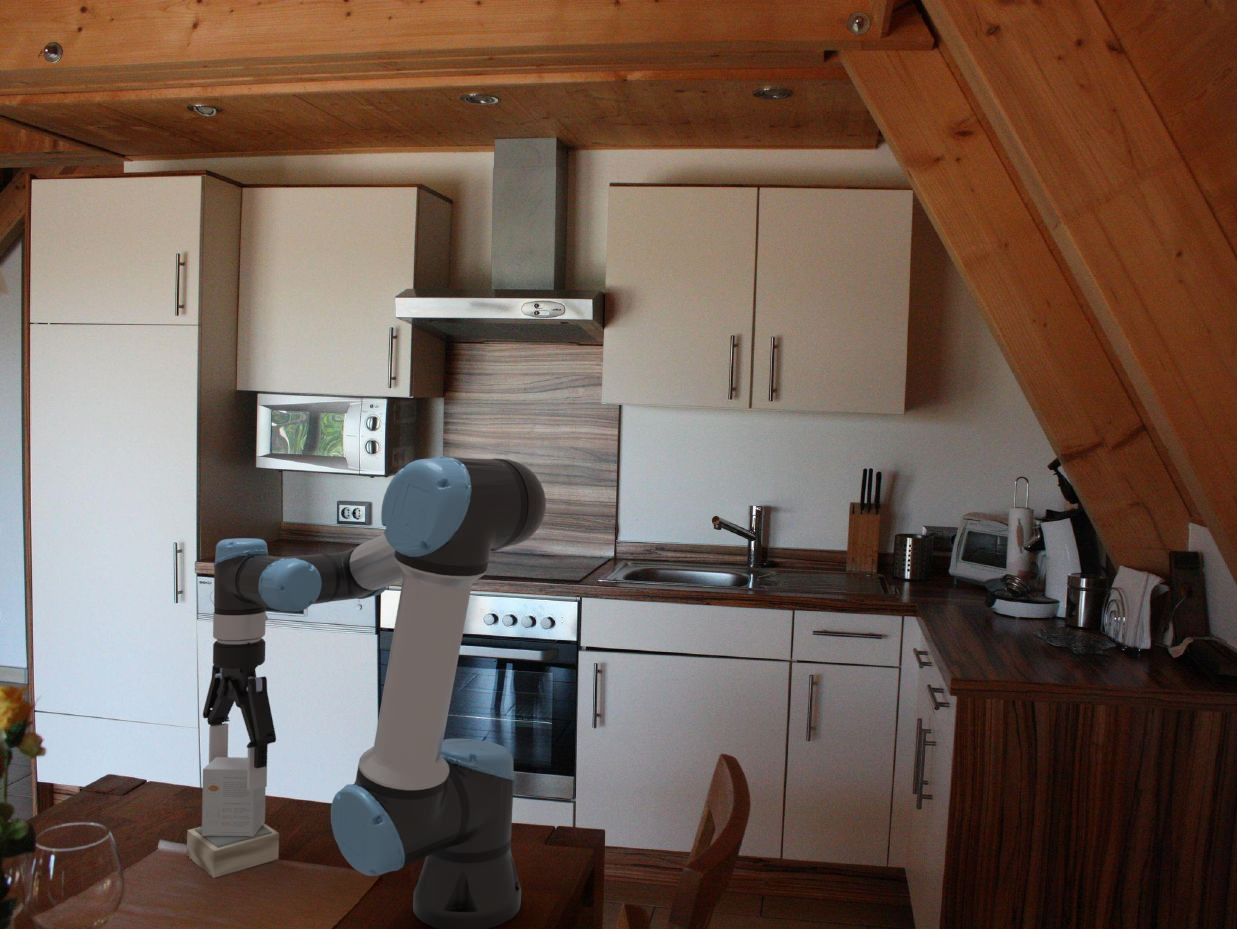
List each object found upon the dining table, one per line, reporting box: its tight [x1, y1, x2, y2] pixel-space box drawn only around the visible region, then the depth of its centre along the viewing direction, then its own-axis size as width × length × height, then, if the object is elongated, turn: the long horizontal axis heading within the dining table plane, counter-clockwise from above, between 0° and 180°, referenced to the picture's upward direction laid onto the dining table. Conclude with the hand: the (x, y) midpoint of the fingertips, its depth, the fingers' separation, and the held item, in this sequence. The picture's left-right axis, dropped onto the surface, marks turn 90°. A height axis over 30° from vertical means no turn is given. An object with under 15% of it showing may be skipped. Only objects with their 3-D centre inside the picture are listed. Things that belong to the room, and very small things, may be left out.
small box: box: [201, 756, 266, 837], centre depth 149 cm, size 8×6×10 cm
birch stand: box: [186, 823, 280, 879], centre depth 149 cm, size 10×10×4 cm
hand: (236, 776), depth 149 cm, fingers open, 13 cm apart
